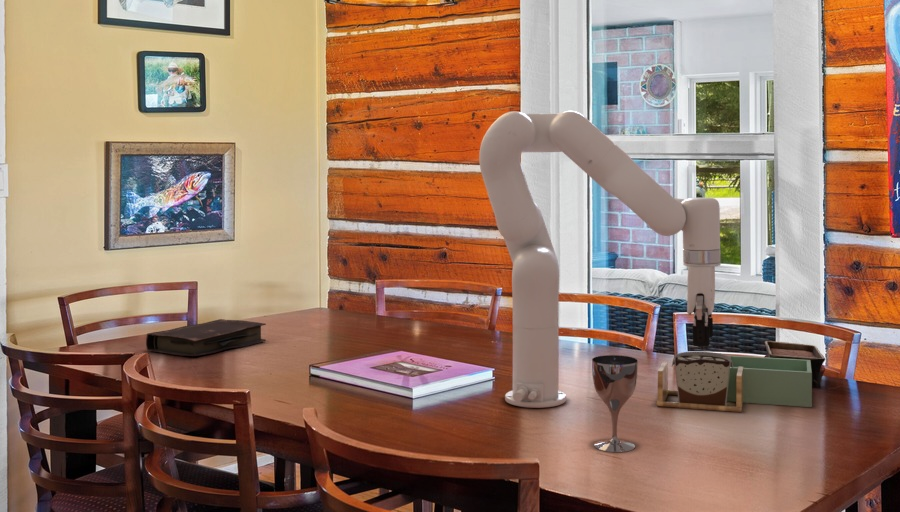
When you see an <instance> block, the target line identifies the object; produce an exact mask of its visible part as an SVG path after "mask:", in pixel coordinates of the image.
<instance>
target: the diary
mask: <svg viewBox="0 0 900 512" xmlns="http://www.w3.org/2000/svg"><path fill="white" fill-rule="evenodd" d="M266 325H267V323H265V322H258V321H257V322H256V321H251V320H241V319H223V318H220V319H214V320H211V321H207V322H203V323H196V324H189V325H184V326H178V327H176V328H171V329H166V330H160V331H153V332H148V333H147V334H146V337H145V347H146V351H147V352H154V353H162V354H167V355H168V354H169V355H174V356H183V357H197V356H203V355H209V354H214V353H215V354H216V353H219V352H222V351H225V350H229V349H234V348H243V347H249V346H252V345H256V344H260V343H262V342H266V341H267V339H265V338H262V326H263V327H264V326H266Z"/></svg>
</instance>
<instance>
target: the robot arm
mask: <svg viewBox="0 0 900 512" xmlns="http://www.w3.org/2000/svg"><path fill="white" fill-rule="evenodd" d="M522 153H563V154H564V155H565V156H566V157H568V158H569V159H570V160H571V161H572V162H573V163H574V164H575V165H577V167H579V168H580V169H581V170H582V171H583V172H584V173H585V174H586V175H588V176H589V178H591V179H592V180H593V181H594V182H595V183H596V184H597V185H598V186H600V187H601V188H602V189H603V190H604V191H606V192H608V193H609V194H611V195H612V196H614V197H615V198H616V199H618V200H619V201H620V202H621V203H623V204H624V205H625V206H626V207H627V208H628V209H630V210H631V212H633V213H634V214H635V215H637V216H638V217H639V219H641V220H642V221H643V222H644V223H645V224H646V225H647V226H648V227H649V228H650V229H651V230H652V231H653V232H654V233H656V234H657V235H660V236H664V237H671V236H675V235H677V234H679V232H682V264H683V266H686V267H688V268H687V283H686V284H687V288H686V289H687V290H686V291H687V292H686V293H687V294H686V295H687V299H686V301H687V302H686V303H687V304H686V314H687V315H690V316H692V314H693V321H692V322H693V323H692V324H693V325H692V345H693V346H694V347H709V346H710V338H713V337H714V317H713V312H714V309H715V299H716V267H719V266H721V215H720V214H721V212H720V211H721V210H720V209H721V208H720V202H719V201H718V199H717V198H713V197H687V198H676V197H674V196H672V195H671V194H670V193H669V192H668V191H667V190H666V189H665V188H664V187H662V186H661V185H660V184H659V183H658V182H657V181H656V180H654V179H653V178H652V177H651V176H650V175H649V174H648V173H646V172H645V170H643V169H642V168H641V167H640V166H639V165H638V164H637V162H636V161H634V160H633V159H632V158H631V157H630V155H628V154H627V153H626V152H625V151H624V150H623V149H622V148H620V147H619V145H617V144H616V143H615V142H613V141H612V140H611V138H609V137H608V136H607V134H605V133H603V131H601V130H600V128H598V127H597V126H596V125H595V124H593V123H592V121H590V120H589V119H588V118H587V117H585V115H583V114H582V113H581V112H578V111H575V110H565V111H562V112H559V113H558V112H556V113H524V112H521V111H516V110H513V111H507V112H505V113H503V114H501V115H500V116H499V117H497V119H496V120H494V122H492V123H491V125H490V126H489V127H488V129H487V130H486V132H485V134H484V135H483V137H482V140H481V143H480V146H479V153H478V161H479V168H480V173H481V176H482V180H483V183H484V186H485V190H486V193H487V196H488V199H489V203H490V205H491V208H492V211H493V214H494V217H495V223H496V227H497V230H498V232H499V233H500V235H501V237H503V240H504V243H505V246H506V248H507V252H508V255H509V257H510V260H511V263H512V269H511V270H512V271H511V295H512V297H511V298H512V315H511V316H512V390H509V391H508V392H506V393H505V394H504V400H505V402H506V403H507V404H509V405H511V406H516V407H521V408H531V409H537V408H538V409H540V408H541V409H543V408H544V409H545V408H551V407H557V406H561V405H563V404H564V403H565V402H566V401H567V394H566V393H564V392H563V391H561V390H559V387H560V386H559V376H560V375H559V373H560V372H559V371H560V370H559V368H560V367H559V365H560V364H559V363H560V362H559V360H560V359H559V358H560V357H559V356H560V355H559V354H560V353H559V352H560V351H559V347H560V345H559V342H560V341H559V340H560V339H559V338H560V334H559V333H560V332H559V331H560V330H559V329H560V328H559V327H560V326H559V318H560V317H559V316H560V315H559V311H560V310H559V300H560V299H559V298H560V296H559V295H560V265H559V261H558V257H557V254H556V251H555V249H554V246H553V242H552V239H551V237H550V234H549V231H548V228H547V225H546V222H545V219H544V216H543V214H542V211H541V209H540V207H539V205H538V204H537V203H536V202H535V201H534V199H533V196H532V193H531V190H530V188H529V185H528V182H527V178H526V175H525V172H524V170H523V166H522V160H521V159H522Z"/></svg>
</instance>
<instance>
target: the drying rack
mask: <svg viewBox="0 0 900 512" xmlns="http://www.w3.org/2000/svg"><path fill="white" fill-rule="evenodd" d="M743 368H744V367H739V368H738V372H737V376H736V402H735V404H736V405H735V406H734V405H733V406H731V405H726V406H720V405H706V404H692V403H679V401H678V402H677V401H676V402H675V401H666V400H667V398H668V395H669V396H678V391H677V389H676V390H675V389H669V379H668V378H669V375H668V374H669V362H667V361H663V362H661V365H660V367H659V368H658V370H657V401H656V406H657V407H666V408H677V409H678V408H679V409H691V410H693V409H694V410H704V411H705V410H706V411H718V412H733V413H742V410H743V404H744V403H743Z"/></svg>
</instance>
